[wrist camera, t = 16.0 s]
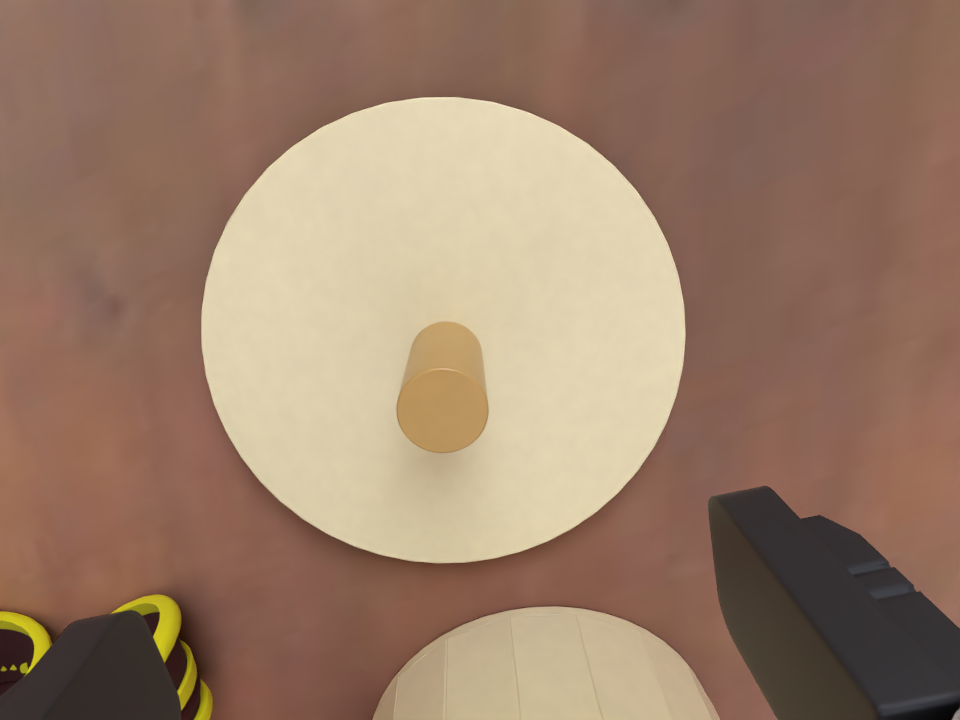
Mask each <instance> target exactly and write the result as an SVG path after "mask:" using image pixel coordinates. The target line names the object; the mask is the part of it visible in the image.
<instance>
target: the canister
mask: <svg viewBox="0 0 960 720" xmlns="http://www.w3.org/2000/svg"><path fill="white" fill-rule="evenodd" d="M372 720H720V718H719V716H718V714H717V712H716V710H715V708H714V706H713V704H712V702H711V701H710V699H709V698H708V696H707V695H706V693H705V692H704V689H703V687H702V685H701V684H700V682H699V680H698V679H697V677H696V675H695V674H694V672H693V670H692V669H691V668H690V667H689V666H688V664H687V663H686V662H685V661H684V660H683V658H682V657H681V656H680V655H679V654H678V653H677V652H676V651H674V650H673V649H672V648H671V647H670V646H669V645H667V644H666V643H665V642H664V641H663V640H661V639H659V638H658V637H656V636H655V635H653V634H652V633H650V632H649V631H647V630H646V629H643V628H641V627H639V626H637V625H635V624H633V623H631V622H629V621H627V620H624V619H621V618H618V617H615V616H612V615H609V614H606V613H601V612H597V611H592V610H587V609H582V608H570V607H558V606H553V607H530V608H522V609H515V610H508V611H504V612H500V613H496V614H492V615H488V616H485V617H482V618H479V619H477V620H474V621H471V622H469V623H466V624H463V625H461V626H459V627H457V628H455V629H454V630H452V631H450V632H448V633H446V634H444V635H442V636H440V637H439V638H437V639H436V640H435V641H433V642H432V643H430V644H429V645H427V646H426V647H424V648H423V649H422V650H421V651H419V652H418V653H417V654H416V655H415V656H414V657H413V658H412V659H410V660H409V661H408V662H407V663H406V664H405V665H404V666H403V668H402V669H401V670H400V671H399V672H398V673H397V675H396V676H395V677H394V678H393V679H392V681H391V683H390V684H389V686H388V687H387V689H386V690H385V692H384V693H383V695H382V697H381V699H380V701H379V704H378V706H377V708H376V710H375V713H374V716H373V719H372Z"/></svg>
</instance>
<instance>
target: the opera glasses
mask: <svg viewBox="0 0 960 720" xmlns="http://www.w3.org/2000/svg"><path fill="white" fill-rule="evenodd" d="M127 610H134V611H137V612H139V613H140V614H141V615H142V616H143V617H144V619H145V620H146V622H147V624H148V626H149V629H150V631H151V633H152V635H153V638H154V640H155V642H156V645H157V647H158V649H159V651H160V654H161V656H162V658H163V660H164V663H165V665H166V667H167V670H168V672H169V674H170V676H171V679H172V681H173V683H174V685H175V688H176V690H177V692H178V695H179V699H180V704H181V720H210V717H211V713H212V710H213V698H212V694H211V691H210V690H209V688H208V687H207V685H206V684H205V683H204V682H203V681H202V680H200V677H199V675H198V673H197V668H196V663H195V661H194V658H193V655H192V653H191V650H190V647H189V646H188V645H187V644H186V643H185V642H183V641H181V640H180V639H179V636H178V634H179V631H180V626H181V612H180V609H179V606H178V605H177V603H176V602H175V601H174V600H173V599H172V598H170V597H167V596H165V595H158V594H155V595H149V596H144V597H141V598H138V599H136V600H133V601H131V602H129V603H127V604H124V605H123V606H121V607H120V608H118V609H116V610H115V611H113V612H112V613H117V612H122V611H127ZM110 614H111V613H110ZM9 629H10V630H9ZM29 636H30V637H29ZM51 645H52V642H51V638H50V636H49V634H48V633H47V631H46V630H45V628H44V627H43V626H42V625H40V624H39V623H38V622H36V621H35V620H34V619H32V618H30V617H28V616H24V615H21V614H18V613H13V612H7V611H0V696H1V695H2V694H3V693H4V692H6V691H7V690H8V689H9V688H11V687H12V686H13V685H14V684H15V683H17V682H18V681H19V680H20V679H22V678H23V677H24V676H25V675H26V674H28V673H29V672H30V671H31V669H32V668H33V667H34V666H35V665H36V663H37V662H38V661H39V660H40V659H41V657H42V656H43V655H44V654H45V653H46V651H47V650H48V649H49V648H50V647H51Z"/></svg>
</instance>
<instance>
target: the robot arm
mask: <svg viewBox="0 0 960 720" xmlns="http://www.w3.org/2000/svg"><path fill="white" fill-rule="evenodd" d="M708 512H709V522H710V530H711V539H712V548H713V557H714V565H715V574H716V583H717V591H718V597H719V602H720V606H721V610H722V613H723V616H724V620H725V622H726V625H727V628H728V630H729V633H730V635H731V637H732V639H733V641H734V643H735V645H736V647H737V648H738V650H739V652H740V654H741V655H742V657H743V659H744V661H745V662H746V664H747V666H748V668H749V670H750V671H751V673H752V675H753V677H754V678H755V680H756V682H757V684H758V685H759V687H760V689H761V691H762V693H763V694H764V696H765V698H766V700H767V701H768V703H769V705H770V707H771V708H772V710H773V712H774V714H775V716H776V717H777V719H778V720H960V629H959V628H958V627H957V626H956V625H955V624H954V623H953V622H952V621H951V620H950V619H949V618H948V617H947V616H946V615H944V614H943V613H942V612H941V611H940V610H939V609H938V608H937V607H936V606H935V605H934V604H933V603H932V602H931V601H930V600H929V599H928V598H926V597H925V596H924V595H923V594H922V593H921V592H920V591H919V592H916V591H915V589H914V586H913V584H912V583H911V582H910V581H908V580H907V579H906V578H905V577H904V576H903V575H902V574H901V573H900V572H899V571H898V570H897V569H896V568H895V567H893V568H891V567H890V565H889V562H888V561H887V560H886V559H885V558H884V557H883V556H882V555H881V554H880V553H879V552H878V551H877V550H876V549H875V548H873V547H872V546H871V545H870V544H869V543H868V542H867V541H866V540H865V539H864V538H863V537H862V536H861V535H860V534H858V533H856V532H854V531H852V530H849V529H847V528H845V527H843V526H841V525H839V524H837V523H835V522H833V521H831V520H829V519H827V518H825V517H823V516H821V515H818V516H813V517H808V518H803V519H800V518H799V517H798V516H797V515H796V514H795V513H794V512H793V511H792V510H791V509H790V508H789V507H788V505H787V504H786V503H785V502H784V501H783V500H782V499H781V498H780V497H779V496H778V495H777V494H776V493H775V492H774V491H773V490H772V489H771V488H770V487H768V486H762V487H757V488H752V489H747V490H742V491H737V492H732V493H727V494H722V495H717V496H712V497H711V498H710V499H709V504H708ZM0 720H181V704H180V699H179V695H178V692H177V690H176V688H175V685H174V683H173V681H172V679H171V676H170V674H169V672H168V670H167V667H166V665H165V663H164V660H163V658H162V656H161V654H160V651H159V649H158V647H157V645H156V642H155V640H154V638H153V635H152V633H151V631H150V629H149V626H148V624H147V622H146V620H145V619H144V617H143V616H142V615H141V614H140V613H139V612H137V611H134V610H127V611H122V612H117V613H111V614H106V615H101V616H96V617H91V618H86V619H81V620H77V621H75V622H73V623H71V624H70V625H69V626H68V627H67V628H66V629H65V630H64V631H63V632H62V634H61V635H60V636H59V637H58V638H57V640H56V641H55V642H54V643H53V644H52V645H51V647H50V648H49V649H48V650H47V651H46V653H45V654H44V655H43V656H42V657H41V659H40V660H39V661H38V662H37V663H36V665H35V666H34V667H33V668H32V669H31V671H30V672H29V673H28V674H26V675H25V676H24V677H23V678H22V679H20V680H19V681H18V682H17V683H15V684H14V685H13V686H12V687H11V688H9V689H8V690H7V691H6V692H4V693H3V694H2V695H1V696H0Z"/></svg>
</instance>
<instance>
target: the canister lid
mask: <svg viewBox="0 0 960 720" xmlns="http://www.w3.org/2000/svg"><path fill="white" fill-rule="evenodd" d="M685 338H686V334H685V313H684V302H683V297H682V292H681V286H680V281H679V275H678V272H677V269H676V266H675V263H674V260H673V257H672V254H671V251H670V248H669V245H668V243H667V241H666V239H665V237H664V235H663V233H662V231H661V229H660V227H659V225H658V223H657V221H656V219H655V217H654V216H653V214H652V213H651V211H650V210H649V208H648V207H647V205H646V204H645V202H644V201H643V199H642V198H641V197H640V195H639V194H638V192H637V191H636V189H635V188H634V187H633V186H632V185H631V184H630V183H629V182H628V181H627V179H626V178H625V177H624V176H623V175H622V174H621V173H620V172H619V171H618V170H617V168H616V167H615V166H614V165H613V164H611V163H610V162H609V161H608V160H607V159H605V158H604V157H603V156H602V155H601V154H599V153H598V152H597V151H596V150H595V149H593V148H592V147H591V146H590V145H589V144H587V143H586V142H584V141H583V140H581V139H579V138H578V137H576V136H574V135H573V134H571V133H570V132H568V131H566V130H565V129H563V128H561V127H560V126H558V125H556V124H554V123H551V122H549V121H547V120H545V119H542V118H540V117H538V116H535V115H533V114H531V113H529V112H526V111H523V110H519V109H516V108H512V107H509V106H505V105H501V104H498V103H494V102H489V101H482V100H474V99H467V98H459V97H423V98H415V99H409V100H402V101H395V102H388V103H384V104H381V105H378V106H374V107H371V108H368V109H364V110H361V111H358V112H354V113H352V114H350V115H347V116H345V117H343V118H341V119H339V120H337V121H334V122H332V123H330V124H328V125H326V126H324V127H321V128H320V129H318V130H317V131H315V132H314V133H312V134H311V135H309V136H308V137H306V138H304V139H303V140H301V141H300V142H298V143H297V144H295V145H294V146H292V147H291V148H290V149H289V150H288V151H287V152H285V153H284V154H283V155H282V156H281V157H280V158H279V159H277V160H276V161H275V162H274V163H273V164H272V165H271V166H269V167H268V168H267V169H266V170H265V172H264V173H263V174H262V175H261V176H260V177H259V179H258V180H257V181H256V182H255V183H254V184H253V186H252V187H251V188H250V189H249V190H248V191H247V193H246V194H245V195H244V197H243V198H242V200H241V202H240V203H239V205H238V206H237V208H236V209H235V211H234V213H233V214H232V216H231V217H230V219H229V221H228V222H227V224H226V227H225V229H224V231H223V233H222V236H221V238H220V240H219V242H218V245H217V247H216V249H215V251H214V255H213V258H212V262H211V265H210V269H209V272H208V276H207V279H206V283H205V291H204V298H203V305H202V313H201V345H202V352H203V359H204V366H205V373H206V378H207V381H208V385H209V388H210V392H211V395H212V399H213V402H214V405H215V408H216V410H217V412H218V415H219V417H220V419H221V422H222V424H223V426H224V428H225V431H226V433H227V434H228V436H229V438H230V440H231V441H232V443H233V445H234V446H235V448H236V450H237V451H238V453H239V455H240V456H241V458H242V459H243V460H244V462H245V463H246V464H247V466H248V467H249V468H250V469H251V471H252V472H253V473H254V475H255V476H256V477H257V478H258V480H259V481H260V482H261V483H262V484H263V485H264V486H265V487H266V488H267V489H268V490H269V491H270V492H271V493H272V494H273V495H274V496H275V497H276V498H277V499H278V500H279V501H280V502H281V503H283V504H284V505H285V506H287V507H288V508H289V509H290V510H292V511H293V512H294V513H295V514H297V515H298V516H299V517H301V518H302V519H303V520H305V521H307V522H308V523H310V524H311V525H313V526H315V527H316V528H318V529H320V530H321V531H323V532H325V533H326V534H328V535H330V536H332V537H335V538H337V539H339V540H341V541H343V542H346V543H348V544H350V545H352V546H354V547H358V548H361V549H364V550H367V551H370V552H373V553H376V554H379V555H383V556H388V557H393V558H398V559H403V560H408V561H417V562H428V563H466V562H473V561H480V560H488V559H494V558H498V557H502V556H506V555H510V554H514V553H518V552H521V551H524V550H527V549H529V548H532V547H534V546H537V545H540V544H542V543H545V542H547V541H549V540H551V539H553V538H555V537H557V536H559V535H561V534H563V533H565V532H567V531H568V530H570V529H572V528H574V527H575V526H577V525H578V524H580V523H581V522H583V521H584V520H586V519H587V518H588V517H590V516H591V515H593V514H594V513H596V512H597V511H598V510H599V509H600V508H602V507H603V506H604V505H605V504H606V503H607V502H608V501H610V500H611V499H612V498H613V497H614V496H615V495H616V494H618V492H619V491H620V490H621V489H622V488H623V487H624V486H625V485H626V483H627V482H628V481H629V480H630V479H631V478H632V477H633V476H634V475H635V473H636V472H637V471H638V469H639V468H640V467H641V465H642V464H643V462H644V461H645V459H646V458H647V456H648V455H649V454H650V452H651V451H652V449H653V448H654V446H655V444H656V442H657V440H658V438H659V436H660V434H661V432H662V430H663V428H664V426H665V425H666V422H667V420H668V417H669V414H670V412H671V409H672V406H673V403H674V401H675V398H676V395H677V391H678V386H679V382H680V377H681V373H682V368H683V360H684V349H685Z"/></svg>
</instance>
